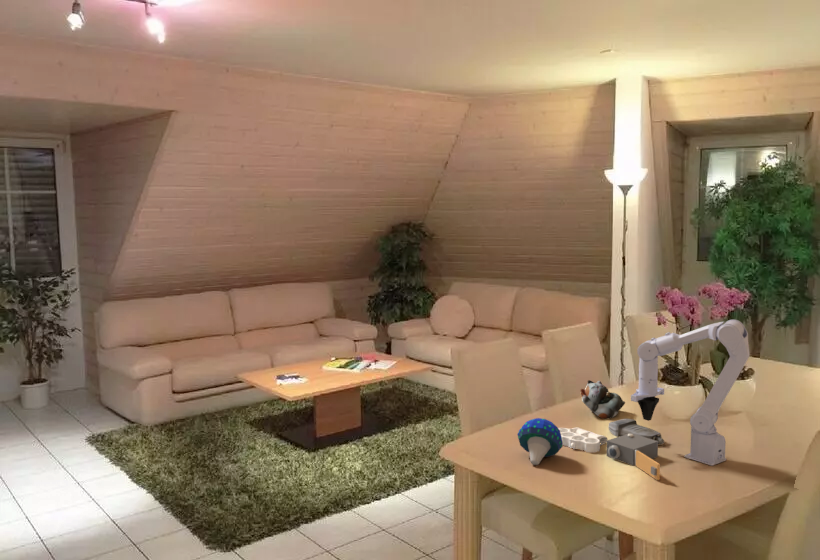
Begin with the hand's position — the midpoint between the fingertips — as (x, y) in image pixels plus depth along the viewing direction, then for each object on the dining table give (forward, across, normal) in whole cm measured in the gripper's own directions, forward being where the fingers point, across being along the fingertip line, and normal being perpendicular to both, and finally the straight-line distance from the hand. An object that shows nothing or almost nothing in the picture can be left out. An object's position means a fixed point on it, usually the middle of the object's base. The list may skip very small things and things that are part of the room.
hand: (647, 419), depth 222 cm
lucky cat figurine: (+10, -17, -32) cm, 38 cm away
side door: (+9, +18, +13) cm, 24 cm away
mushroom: (+10, +34, -14) cm, 38 cm away
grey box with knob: (+9, +10, +2) cm, 14 cm away
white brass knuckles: (+10, +14, -16) cm, 23 cm away
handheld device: (+10, -6, -8) cm, 14 cm away
